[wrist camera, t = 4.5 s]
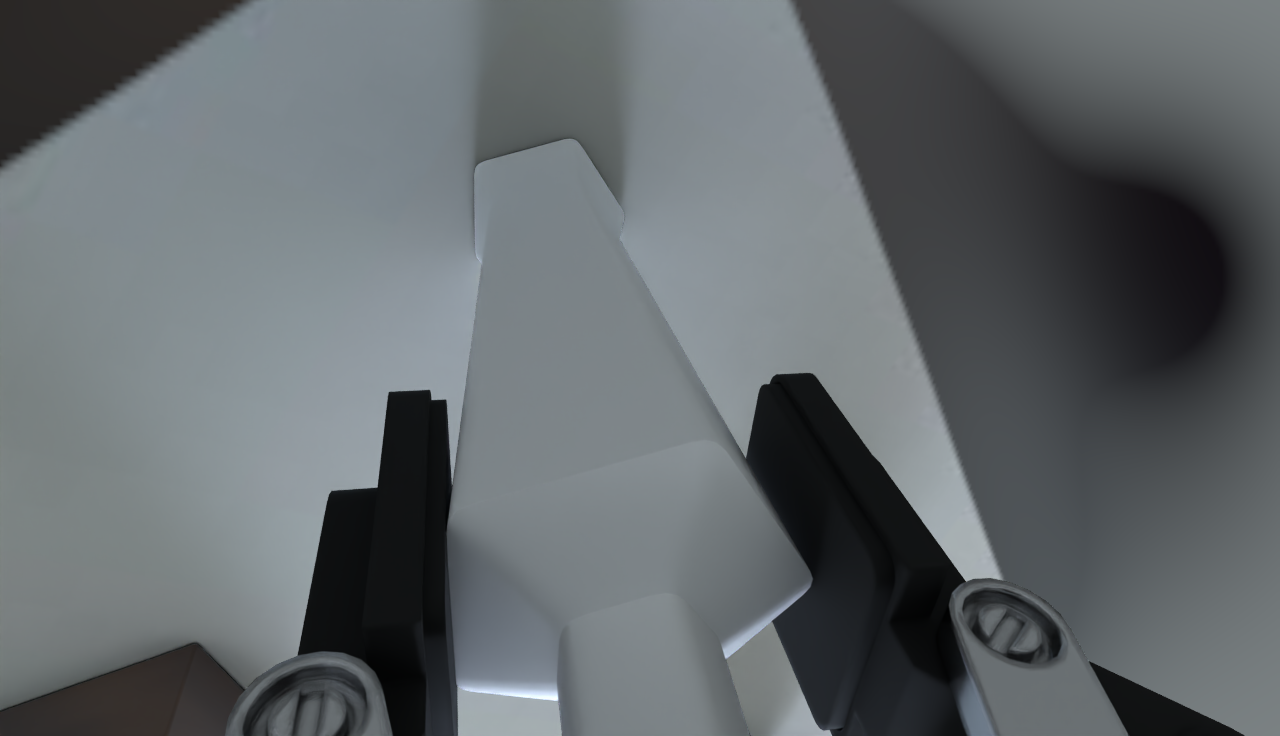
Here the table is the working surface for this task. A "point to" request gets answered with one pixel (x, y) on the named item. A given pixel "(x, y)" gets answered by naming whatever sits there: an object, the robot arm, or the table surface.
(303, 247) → the table surface
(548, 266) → the white faceted vase
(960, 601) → the robot arm
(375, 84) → the table surface
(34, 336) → the table surface
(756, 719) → the table surface
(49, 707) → the walnut block
